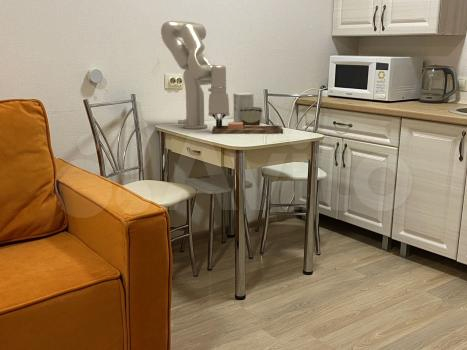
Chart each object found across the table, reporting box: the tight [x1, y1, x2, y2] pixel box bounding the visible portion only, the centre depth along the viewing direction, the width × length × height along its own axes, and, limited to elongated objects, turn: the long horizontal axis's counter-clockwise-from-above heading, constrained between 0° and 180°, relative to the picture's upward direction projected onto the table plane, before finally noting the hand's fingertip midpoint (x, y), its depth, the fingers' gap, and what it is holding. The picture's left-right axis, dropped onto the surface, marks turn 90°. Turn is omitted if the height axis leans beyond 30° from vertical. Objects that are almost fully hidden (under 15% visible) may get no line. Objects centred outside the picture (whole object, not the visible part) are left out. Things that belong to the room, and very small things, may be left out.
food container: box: [240, 106, 263, 126], centre depth 279 cm, size 12×6×10 cm, turn 84°
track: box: [211, 125, 284, 135], centre depth 261 cm, size 35×12×2 cm, turn 90°
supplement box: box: [232, 92, 255, 122], centre depth 287 cm, size 10×9×17 cm
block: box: [227, 121, 243, 129], centre depth 261 cm, size 7×7×4 cm
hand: (219, 127), depth 261 cm, fingers closed
